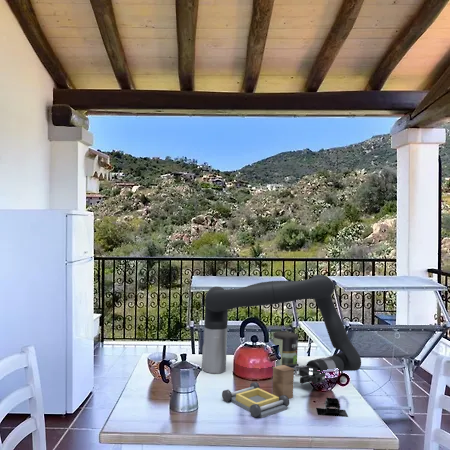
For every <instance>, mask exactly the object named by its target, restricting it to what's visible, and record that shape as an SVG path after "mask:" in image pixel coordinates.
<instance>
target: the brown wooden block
mask: <svg viewBox="0 0 450 450" xmlns="http://www.w3.org/2000/svg"><path fill="white" fill-rule="evenodd" d="M294 376H295V375H294V369H293V368H291V367H288V366H285V365H280V366H276V367H272V391H271V392H272V393H271V394H273V395H275V396H277V397H280V396H282V395H286V396H287V397H288V398H289V400H291V399H292V398H294V378H295V377H294Z"/></svg>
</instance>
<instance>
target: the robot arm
mask: <svg viewBox="0 0 450 450" xmlns="http://www.w3.org/2000/svg"><path fill="white" fill-rule="evenodd" d="M334 292H335V283H334V282H333V280H332V279H331V278H330V277H328V276H326V275H324V274H323V275H322V274H315V275H313V276H312V277H311V278H308V279H307V278H306V279H303V280H272V281H271V280H269V281H261V282H256V283H254V284H249V285H247V286H243V287H240V288H232V289H229V288H228V289H227V288H226V289H225V288H223V287H221V286H213V287H211V288H209V289H208V290H207V292H206V294H205V298H204V304H205V312H204V313H205V314H204V331H203V332H204V333H203V334H204V335H203V337H204V338H203V344H202V353H201V356H202V357H201V358H202V359H201V368H202V370H203V371H204V372H206V373H208V374H209V373H210V374H221V373H224V372H226V371H227V347H228V343H227V342H228V319H229V317H228V316H229V315H228V312H229V310H232V309H236V308H243V307H258V306H259V307H260V306H271V305H272V306H273V305H278V304H284V303H285V304H286V303H289V302H294V301H298V300H315V303H316V305H317V307H318V309H319V312H320V314H321V317H322V319H323V323H324V325H325V328H326V331H327V334H328V337H329V340H330V342H331V345H332V347H333V348H334V349H336V350H339V351H341V352H339V353H334V354H333V355H330V356H327V357H319V358H315V359H312V360H309V361H308V362H307V363H306V365H299V363H297V364H292V365H287V366H288V367H291V368H293V369H294V376H295V377H300V378H299V384H301V385H303V384H306V383H313V384H314V385H317V384H321V383H323V382H325V381H326V379H325V373H321V371H323V370H327V369H334V368H338V369H339V370H340V371H341V373H342V372H353V371H354V372H355V371H358V370H360V368H361V366H362V359H361V355H360V354H359V351H358V350H357V349H356V348H355V346H354V344H353V343H352V342H351V340H350V338H349V335H348V333H347V330H346V327H345V324H344V323H343V320H342V319H341V316H340V315H339V312H338V310H337V309H336V306H335V304H334V302H333V301H334V300H333V297H332V295H333V293H334ZM317 370H320V371H317ZM320 373H321V374H320Z"/></svg>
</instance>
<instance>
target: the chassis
mask: <svg viewBox="0 0 450 450" xmlns="http://www.w3.org/2000/svg"><path fill="white" fill-rule="evenodd" d="M221 398H222V399H223V401H224V402H225V403H227V402H231V403H232V404H235V405H236V406H238V407H240V408H242V409H243V410H246V411H247V412H249V413H250V415H251V416H252V418H258V417H259V418H260V419H264V418H267V417H269V416H271V414H272V415H275V414H277V413H280V412H283V411H286V410H287V407H289V406H290V399H289V398H288V397H287V396H286V395H282V396H280V397H277V396H275V395H273V394H272V393H270V392H268V391H266V390H264V389H262V388H261V387H260V384H259V383H258V381H257V382H256V381H253V382H251V383H250V385H249V387H246V388H243V389H239V390H235V391H231V390H230V389H224V390H222V392H221ZM274 413H275V414H274ZM268 415H269V416H268Z"/></svg>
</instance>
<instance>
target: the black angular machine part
mask: <svg viewBox="0 0 450 450" xmlns="http://www.w3.org/2000/svg"><path fill="white" fill-rule="evenodd" d="M315 411H316V413H317V416H325V417H327V416H328V417H341V418H343V417H344V418H349V415H348V413H347V412H346V410H345V409H341V404H340V401H339V399H338V398H337V397H336V398H335V397H325V401H324V408H323V407H316V410H315Z"/></svg>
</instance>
